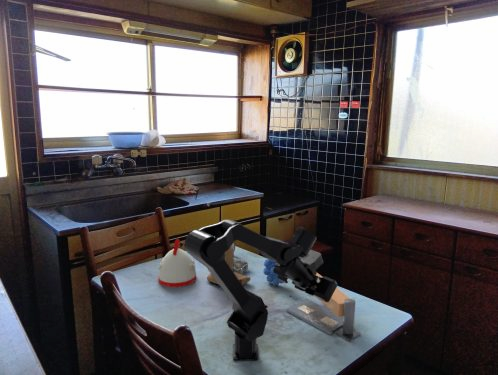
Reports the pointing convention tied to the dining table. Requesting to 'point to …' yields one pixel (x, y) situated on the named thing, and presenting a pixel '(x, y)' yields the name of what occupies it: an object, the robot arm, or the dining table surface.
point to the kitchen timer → (176, 268)
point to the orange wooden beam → (342, 309)
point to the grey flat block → (347, 335)
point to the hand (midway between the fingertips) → (317, 292)
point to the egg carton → (240, 266)
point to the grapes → (271, 272)
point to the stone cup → (229, 259)
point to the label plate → (317, 316)
